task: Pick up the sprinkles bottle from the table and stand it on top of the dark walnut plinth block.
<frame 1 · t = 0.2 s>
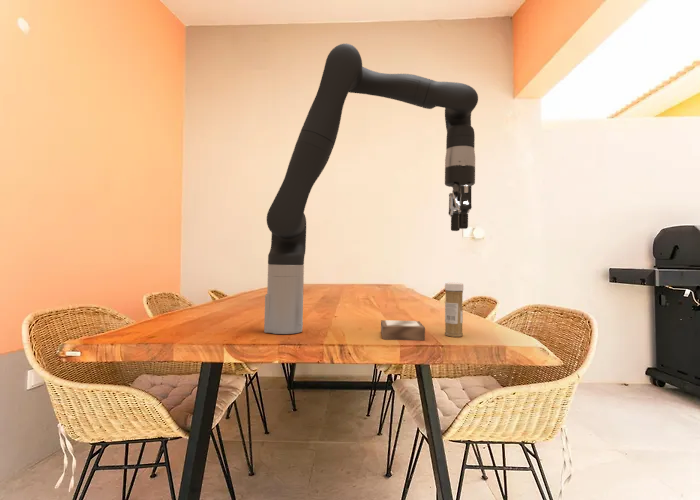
hand: (459, 229, 105), 27 cm above the table, tool pointing down, fingers open, 8 cm apart
sprinkles bottle: (453, 336, 104), on the table
walnut plinth: (401, 335, 103), on the table
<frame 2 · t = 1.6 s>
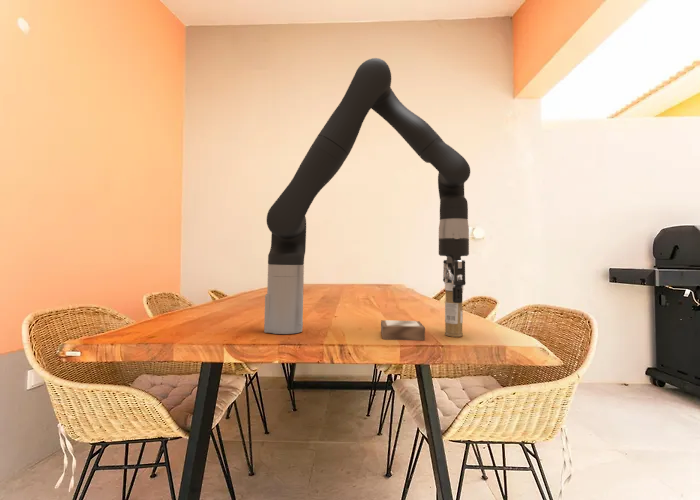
hand: (453, 300, 104), 9 cm above the table, tool pointing down, fingers open, 8 cm apart
nothing on the table moved.
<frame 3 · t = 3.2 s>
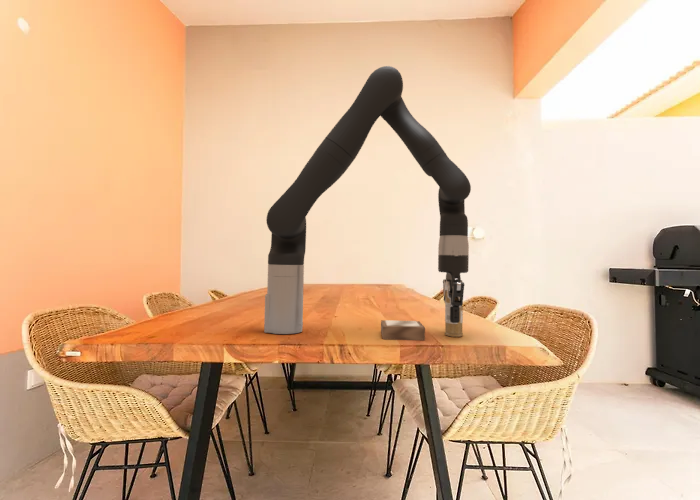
hand: (452, 320, 104), 4 cm above the table, tool pointing down, fingers closed on sprinkles bottle, 4 cm apart
sprinkles bottle: (453, 336, 104), on the table, touching gripper
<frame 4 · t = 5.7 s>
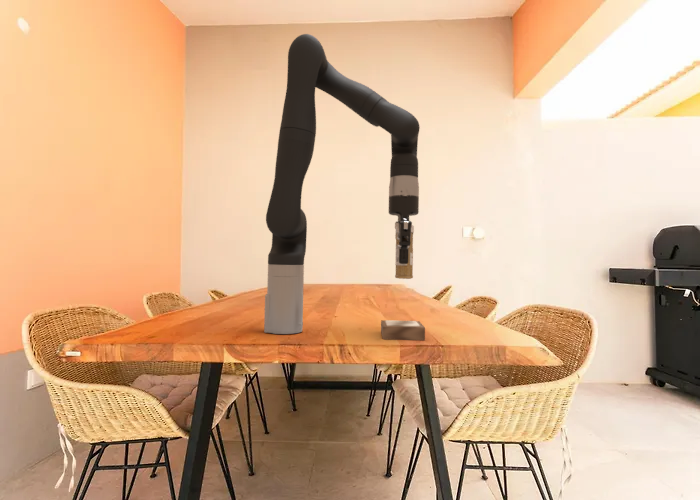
hand: (402, 263, 103), 18 cm above the table, tool pointing down, fingers closed on sprinkles bottle, 4 cm apart
sprinkles bottle: (403, 279, 103), point 14 cm above the table, touching gripper
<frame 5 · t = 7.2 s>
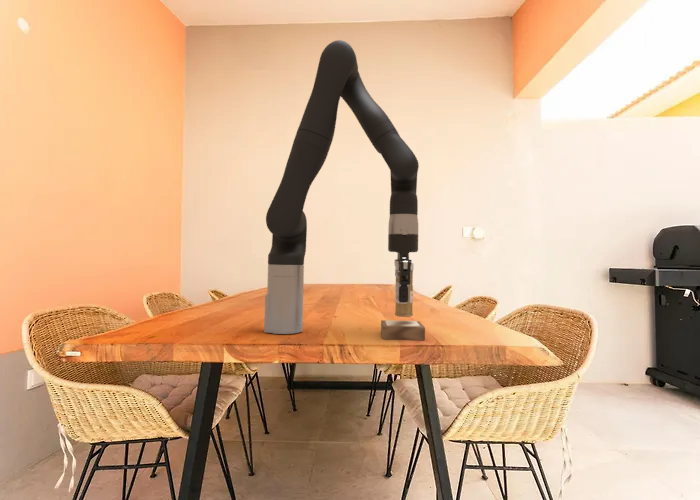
hand: (402, 300, 103), 9 cm above the table, tool pointing down, fingers closed on sprinkles bottle, 4 cm apart
sprinkles bottle: (403, 316, 103), point 5 cm above the table, touching gripper
when the fingers open (8 cm above the table, at t = 8.2 s): sprinkles bottle stays where it is, resting on walnut plinth.
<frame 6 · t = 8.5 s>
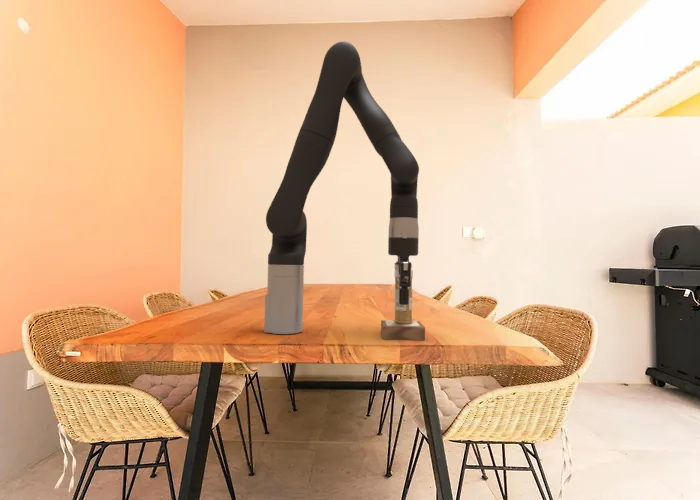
hand: (402, 302, 103), 8 cm above the table, tool pointing down, fingers open, 6 cm apart
sprinkles bottle: (403, 323, 103), point 3 cm above the table, touching walnut plinth
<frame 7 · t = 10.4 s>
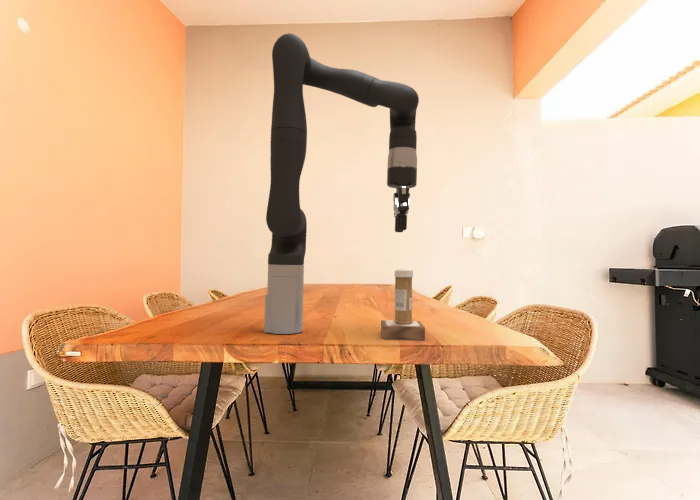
hand: (400, 231, 105), 26 cm above the table, tool pointing down, fingers open, 8 cm apart
nothing on the table moved.
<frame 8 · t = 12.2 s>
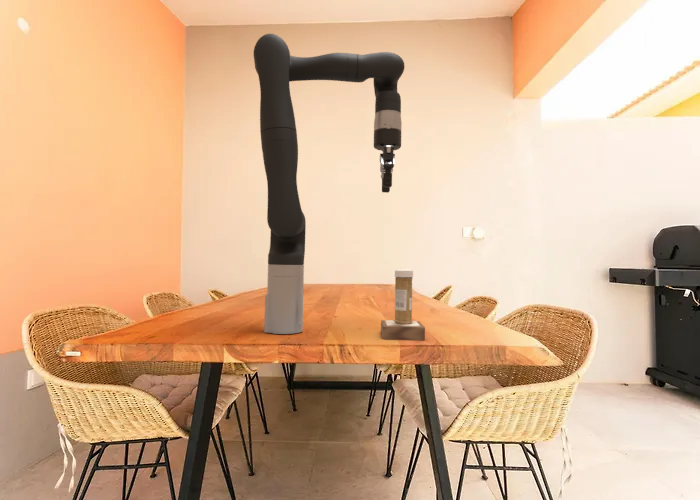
hand: (386, 189, 112), 38 cm above the table, tool pointing down, fingers open, 8 cm apart
nothing on the table moved.
at the end: sprinkles bottle inside the target area on the walnut plinth (0.3 cm from its centre), point 3.0 cm above the walnut plinth's base; sprinkles bottle tilted 0°; the gripper is holding nothing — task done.
